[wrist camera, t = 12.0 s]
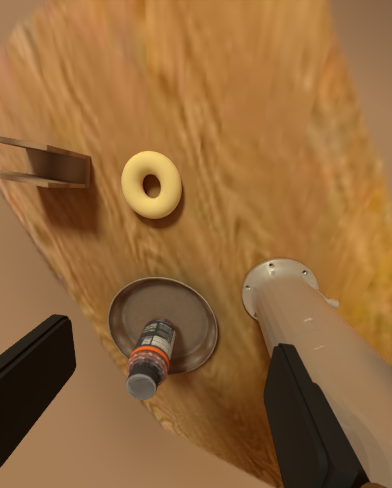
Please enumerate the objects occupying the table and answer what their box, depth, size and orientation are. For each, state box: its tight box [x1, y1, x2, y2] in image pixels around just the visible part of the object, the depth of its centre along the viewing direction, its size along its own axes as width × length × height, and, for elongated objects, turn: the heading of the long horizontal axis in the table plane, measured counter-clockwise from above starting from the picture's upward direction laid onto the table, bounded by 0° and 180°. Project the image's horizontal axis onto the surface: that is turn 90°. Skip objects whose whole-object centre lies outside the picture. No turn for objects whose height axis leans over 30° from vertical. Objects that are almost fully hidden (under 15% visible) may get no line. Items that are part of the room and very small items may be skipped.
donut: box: [121, 151, 182, 219], centre depth 31 cm, size 10×5×9 cm
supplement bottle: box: [126, 317, 176, 400], centre depth 30 cm, size 6×6×11 cm
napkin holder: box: [0, 137, 91, 188], centre depth 29 cm, size 10×5×9 cm, turn 80°
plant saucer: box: [108, 277, 218, 375], centre depth 38 cm, size 21×21×3 cm
